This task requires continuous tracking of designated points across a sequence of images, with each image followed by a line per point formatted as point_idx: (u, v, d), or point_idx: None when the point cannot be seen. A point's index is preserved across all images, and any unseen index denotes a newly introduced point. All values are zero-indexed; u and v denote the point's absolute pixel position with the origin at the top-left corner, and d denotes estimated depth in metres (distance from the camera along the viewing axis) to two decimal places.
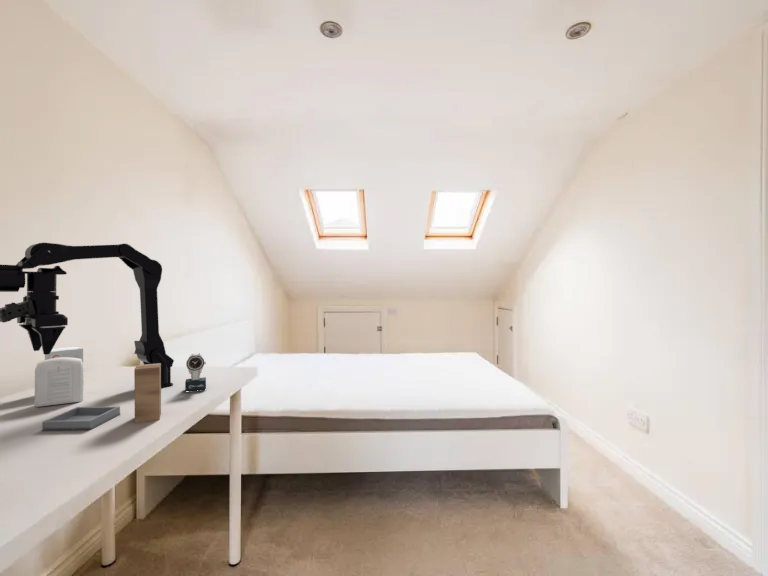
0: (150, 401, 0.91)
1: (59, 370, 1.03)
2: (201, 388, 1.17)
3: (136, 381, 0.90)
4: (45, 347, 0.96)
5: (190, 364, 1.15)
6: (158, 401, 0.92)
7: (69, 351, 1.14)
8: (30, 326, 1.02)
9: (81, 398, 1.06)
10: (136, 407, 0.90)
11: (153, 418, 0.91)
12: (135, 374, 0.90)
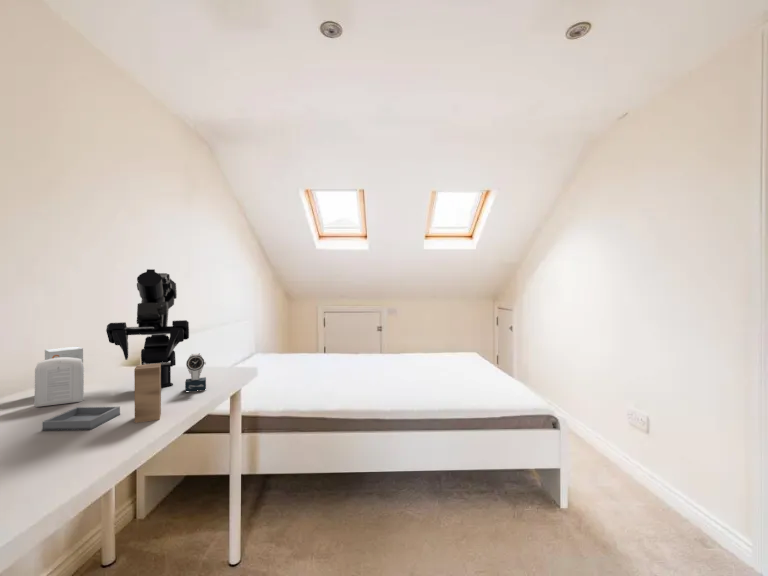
0: (150, 401, 0.91)
1: (59, 370, 1.03)
2: (201, 388, 1.17)
3: (136, 381, 0.90)
4: (171, 349, 1.02)
5: (190, 364, 1.15)
6: (158, 401, 0.92)
7: (69, 351, 1.14)
8: (126, 335, 1.00)
9: (81, 398, 1.06)
10: (136, 407, 0.90)
11: (153, 418, 0.91)
12: (135, 374, 0.90)
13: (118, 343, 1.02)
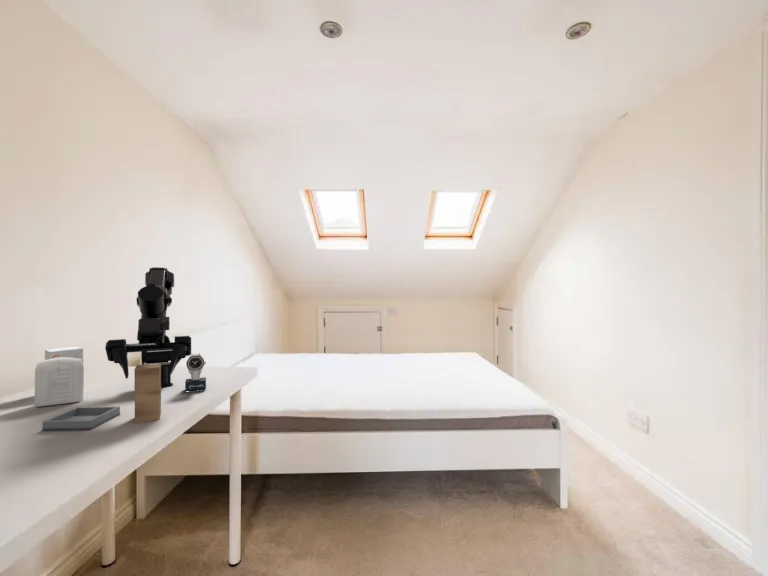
0: (150, 401, 0.91)
1: (59, 370, 1.03)
2: (201, 388, 1.17)
3: (136, 381, 0.90)
4: (173, 366, 0.98)
5: (190, 364, 1.15)
6: (158, 401, 0.92)
7: (69, 351, 1.14)
8: (126, 353, 0.96)
9: (81, 398, 1.06)
10: (136, 407, 0.90)
11: (153, 418, 0.91)
12: (135, 374, 0.90)
13: (117, 361, 0.97)
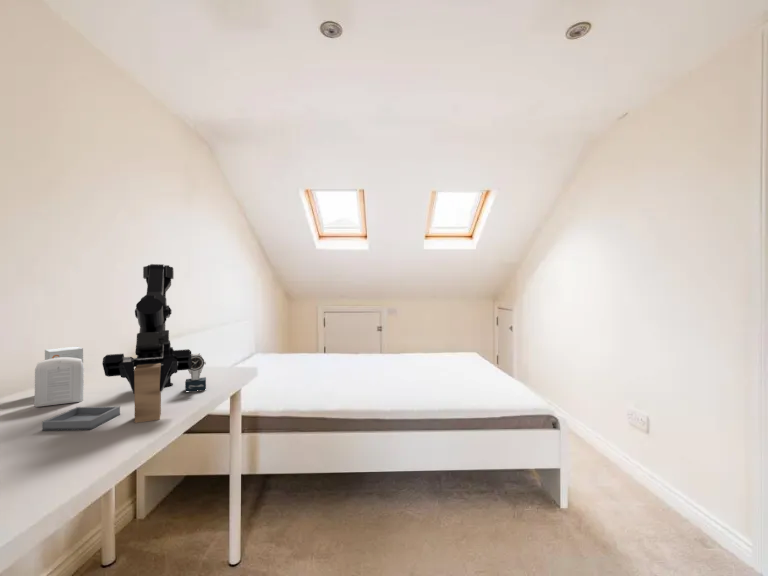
0: (150, 401, 0.91)
1: (59, 370, 1.03)
2: (201, 388, 1.17)
3: (136, 381, 0.90)
4: (164, 382, 0.94)
5: None
6: (158, 401, 0.92)
7: (69, 351, 1.14)
8: (133, 367, 0.94)
9: (81, 398, 1.06)
10: (136, 407, 0.90)
11: (153, 418, 0.91)
12: (135, 374, 0.90)
13: (124, 375, 0.95)
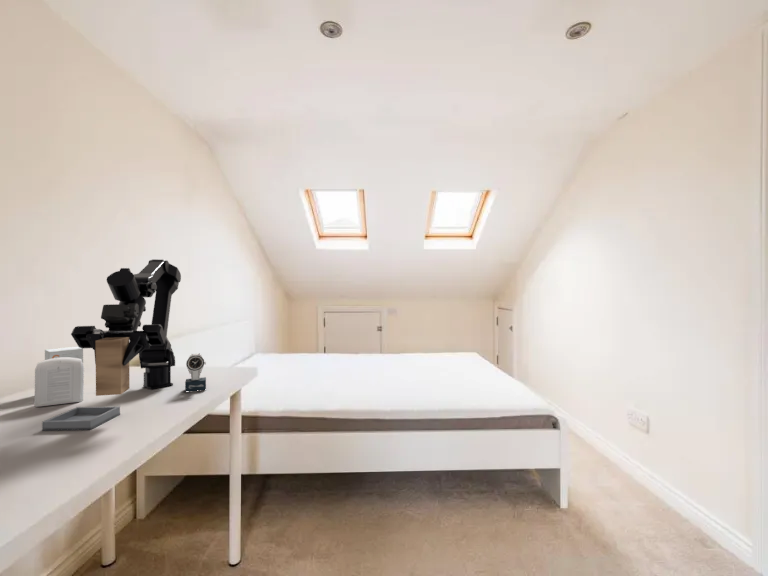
0: (111, 374, 0.88)
1: (59, 370, 1.03)
2: (201, 388, 1.17)
3: (97, 353, 0.88)
4: (128, 356, 0.91)
5: (190, 364, 1.15)
6: (119, 375, 0.89)
7: (69, 351, 1.14)
8: None
9: (81, 398, 1.06)
10: (97, 380, 0.88)
11: (114, 392, 0.89)
12: (96, 346, 0.88)
13: None
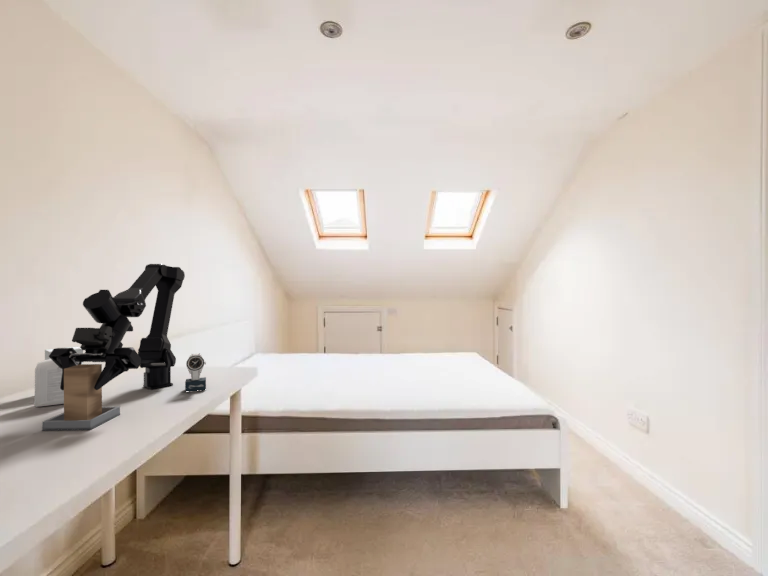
0: (78, 403, 0.88)
1: (59, 370, 1.03)
2: (201, 388, 1.17)
3: (65, 381, 0.87)
4: (101, 381, 0.90)
5: (190, 364, 1.15)
6: (86, 404, 0.88)
7: None
8: (72, 362, 0.92)
9: None
10: (65, 408, 0.87)
11: None
12: (64, 374, 0.87)
13: None
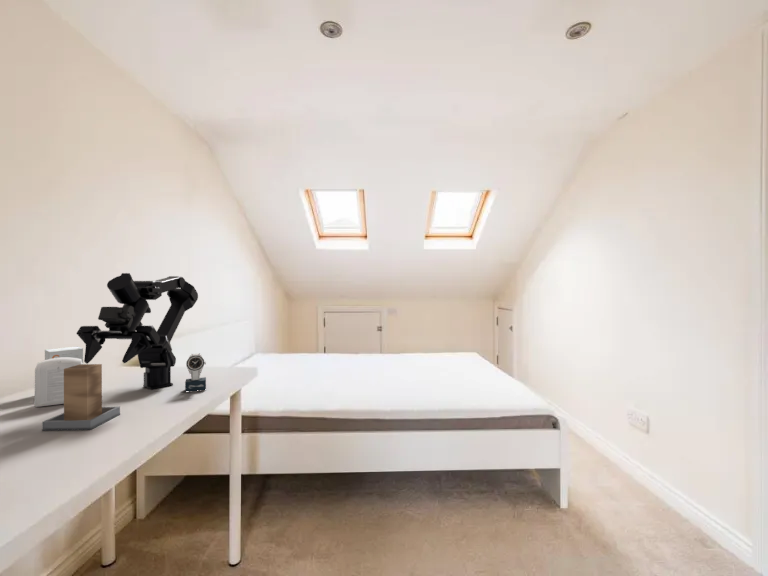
0: (78, 403, 0.88)
1: (59, 370, 1.03)
2: (201, 388, 1.17)
3: (65, 381, 0.87)
4: (128, 355, 0.99)
5: (190, 364, 1.15)
6: (86, 404, 0.88)
7: (69, 351, 1.14)
8: (94, 339, 1.01)
9: None
10: (65, 408, 0.87)
11: None
12: (64, 374, 0.87)
13: None
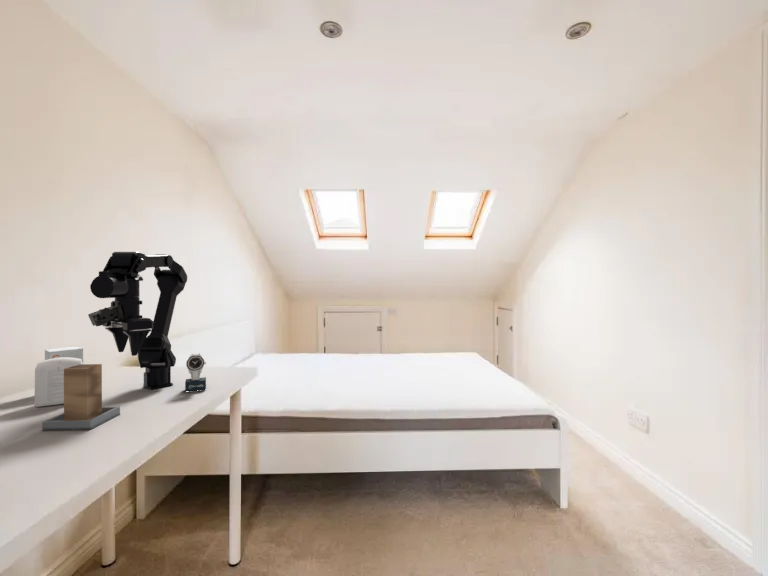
0: (78, 403, 0.88)
1: (59, 370, 1.03)
2: (201, 388, 1.17)
3: (65, 381, 0.87)
4: (133, 349, 1.03)
5: (190, 364, 1.15)
6: (86, 404, 0.88)
7: (69, 351, 1.14)
8: (115, 329, 1.09)
9: None
10: (65, 408, 0.87)
11: None
12: (64, 374, 0.87)
13: None
